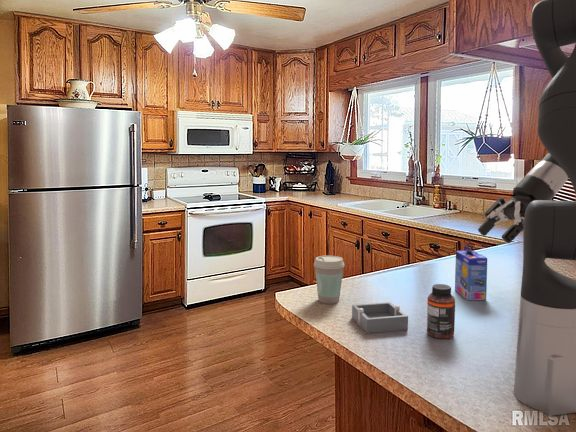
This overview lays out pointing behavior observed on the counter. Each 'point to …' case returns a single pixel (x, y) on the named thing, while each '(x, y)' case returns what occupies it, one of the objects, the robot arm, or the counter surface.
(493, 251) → the counter surface
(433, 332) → the supplement bottle
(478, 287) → the ink cartridge box
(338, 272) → the coffee cup
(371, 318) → the tray
